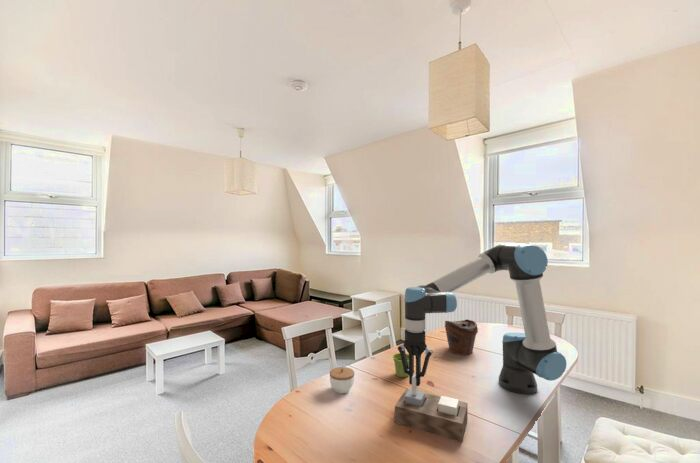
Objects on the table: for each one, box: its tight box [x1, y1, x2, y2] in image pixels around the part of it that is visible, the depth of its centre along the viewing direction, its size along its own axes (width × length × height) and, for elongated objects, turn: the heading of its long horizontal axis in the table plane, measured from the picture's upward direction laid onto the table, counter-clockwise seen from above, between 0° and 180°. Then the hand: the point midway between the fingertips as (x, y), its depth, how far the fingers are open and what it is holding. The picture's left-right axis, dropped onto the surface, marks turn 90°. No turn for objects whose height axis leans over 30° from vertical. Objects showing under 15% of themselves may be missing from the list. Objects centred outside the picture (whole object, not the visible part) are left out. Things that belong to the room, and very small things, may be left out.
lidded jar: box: [329, 366, 355, 395], centre depth 134 cm, size 11×11×9 cm
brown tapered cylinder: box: [444, 319, 479, 355], centre depth 180 cm, size 18×20×18 cm
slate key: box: [405, 388, 426, 407], centre depth 114 cm, size 6×6×4 cm
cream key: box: [438, 395, 460, 416], centre depth 109 cm, size 6×6×4 cm
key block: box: [394, 388, 469, 443], centre depth 112 cm, size 23×14×6 cm, turn 63°
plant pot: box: [392, 352, 409, 379], centre depth 149 cm, size 9×9×9 cm
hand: (414, 393), depth 114 cm, fingers closed
